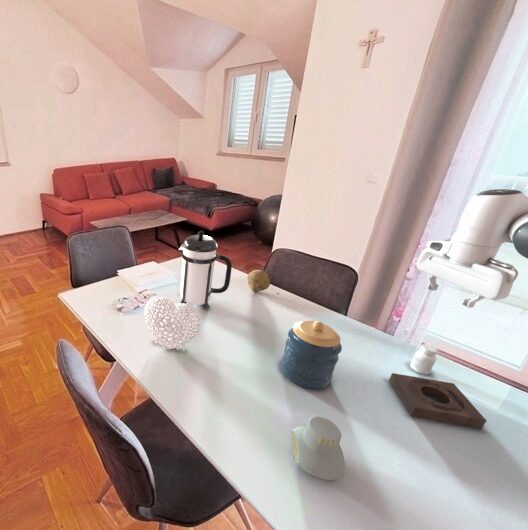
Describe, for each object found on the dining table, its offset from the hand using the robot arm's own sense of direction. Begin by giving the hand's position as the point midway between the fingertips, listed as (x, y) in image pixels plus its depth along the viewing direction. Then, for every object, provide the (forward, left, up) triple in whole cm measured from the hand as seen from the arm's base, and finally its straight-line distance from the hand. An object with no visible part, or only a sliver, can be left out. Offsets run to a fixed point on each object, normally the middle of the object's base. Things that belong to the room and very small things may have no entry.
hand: (448, 297), depth 88 cm
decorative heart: (+75, +16, -22) cm, 80 cm away
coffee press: (+69, -16, -22) cm, 74 cm away
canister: (+36, +17, -22) cm, 45 cm away
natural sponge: (+45, -31, -22) cm, 59 cm away
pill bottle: (+3, +6, -22) cm, 23 cm away
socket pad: (+7, +20, -21) cm, 30 cm away
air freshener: (+40, +45, -22) cm, 64 cm away
